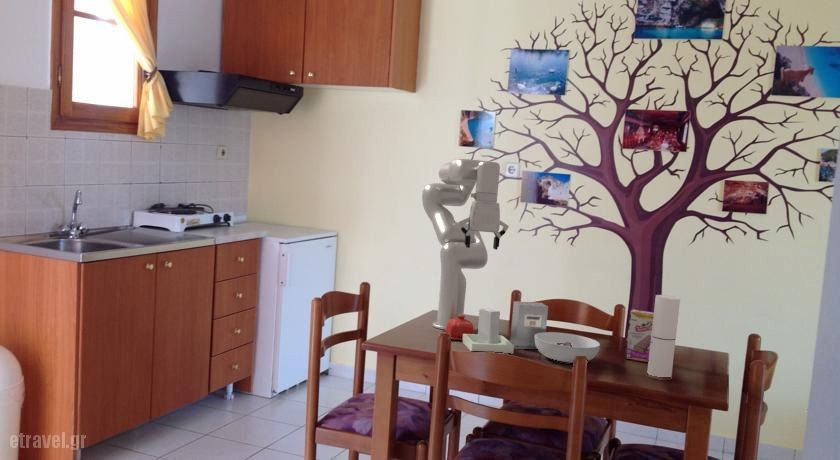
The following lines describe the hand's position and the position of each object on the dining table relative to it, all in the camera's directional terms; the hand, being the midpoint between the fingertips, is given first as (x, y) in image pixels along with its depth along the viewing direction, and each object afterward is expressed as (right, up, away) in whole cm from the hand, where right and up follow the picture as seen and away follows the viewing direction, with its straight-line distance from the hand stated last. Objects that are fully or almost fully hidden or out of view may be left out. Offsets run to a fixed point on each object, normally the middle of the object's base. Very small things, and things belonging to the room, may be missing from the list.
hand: (481, 248), depth 259 cm
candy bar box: (+53, -38, -5) cm, 65 cm away
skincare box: (+1, -33, -4) cm, 33 cm away
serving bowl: (+26, -36, -13) cm, 46 cm away
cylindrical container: (+52, -39, -25) cm, 70 cm away
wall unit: (+16, -34, +2) cm, 37 cm away
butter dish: (-7, -32, +7) cm, 33 cm away
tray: (+2, -33, -5) cm, 33 cm away
